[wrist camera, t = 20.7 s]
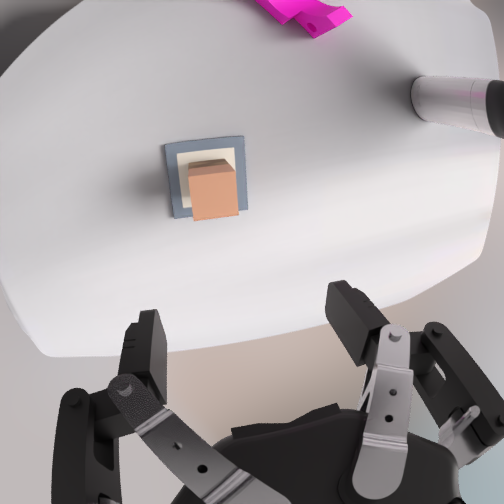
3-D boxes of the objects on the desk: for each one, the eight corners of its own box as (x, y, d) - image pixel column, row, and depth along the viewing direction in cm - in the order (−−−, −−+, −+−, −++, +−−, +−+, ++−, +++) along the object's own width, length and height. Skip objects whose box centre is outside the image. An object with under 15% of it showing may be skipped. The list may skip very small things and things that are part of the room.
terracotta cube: (229, 163, 33) (235, 171, 28) (232, 202, 35) (238, 215, 31) (188, 168, 32) (188, 176, 28) (193, 207, 34) (193, 221, 30)
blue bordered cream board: (243, 135, 37) (244, 136, 36) (246, 207, 42) (248, 209, 41) (165, 144, 35) (164, 144, 34) (174, 217, 40) (174, 219, 40)
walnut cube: (224, 158, 37) (228, 163, 33) (227, 192, 39) (231, 202, 35) (188, 162, 36) (188, 168, 32) (192, 196, 39) (192, 207, 34)
